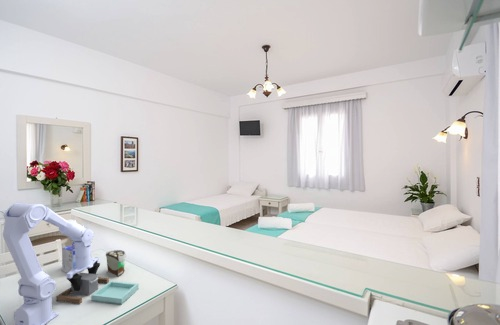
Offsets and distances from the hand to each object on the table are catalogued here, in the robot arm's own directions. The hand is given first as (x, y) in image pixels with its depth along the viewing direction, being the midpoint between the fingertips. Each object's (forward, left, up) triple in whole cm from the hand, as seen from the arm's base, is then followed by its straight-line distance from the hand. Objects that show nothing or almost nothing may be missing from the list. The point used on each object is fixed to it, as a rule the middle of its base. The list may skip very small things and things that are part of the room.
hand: (84, 285), depth 101 cm
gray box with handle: (0, 0, -3) cm, 3 cm away
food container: (+17, -3, -3) cm, 17 cm away
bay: (0, 0, -3) cm, 3 cm away
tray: (0, -15, -3) cm, 16 cm away
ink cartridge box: (+14, +21, -3) cm, 25 cm away
